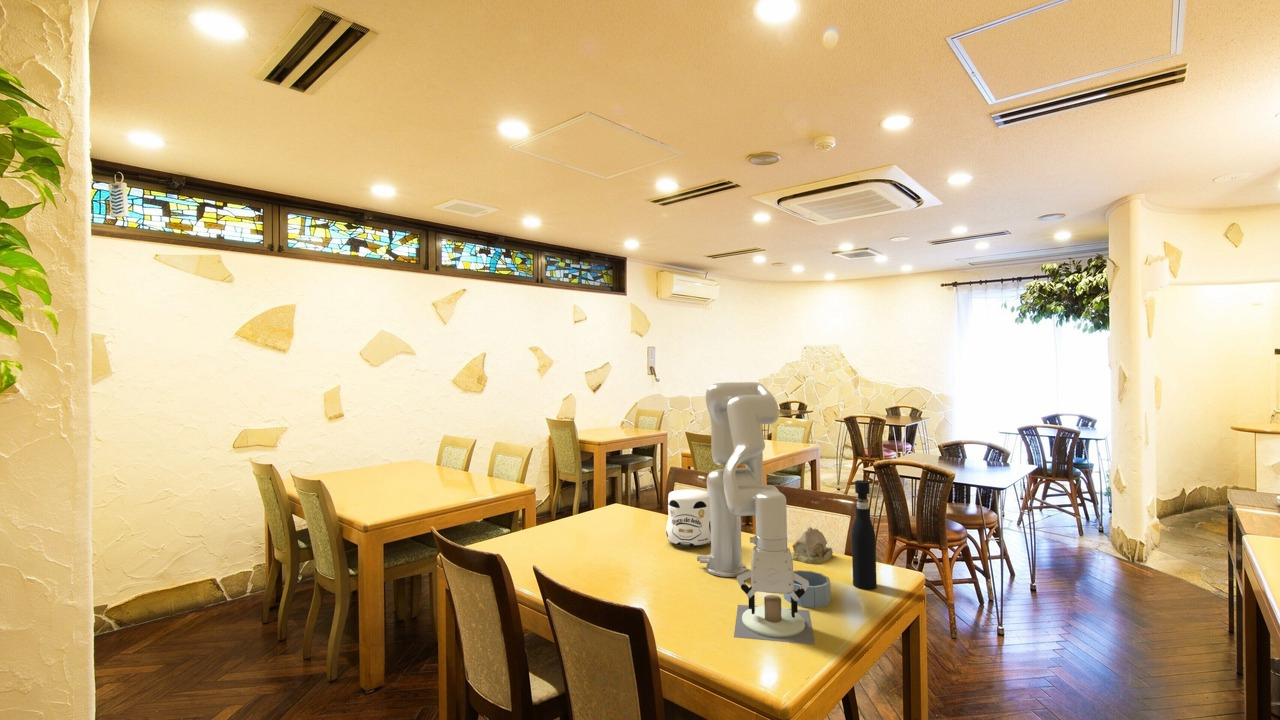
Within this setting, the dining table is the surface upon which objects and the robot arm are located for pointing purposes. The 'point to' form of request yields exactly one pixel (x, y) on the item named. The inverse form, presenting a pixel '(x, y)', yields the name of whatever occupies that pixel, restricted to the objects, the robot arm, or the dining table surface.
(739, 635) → the mat
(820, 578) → the bowl
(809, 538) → the ceramic model
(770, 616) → the lid
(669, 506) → the milk container
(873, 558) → the black water bottle
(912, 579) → the dining table surface
